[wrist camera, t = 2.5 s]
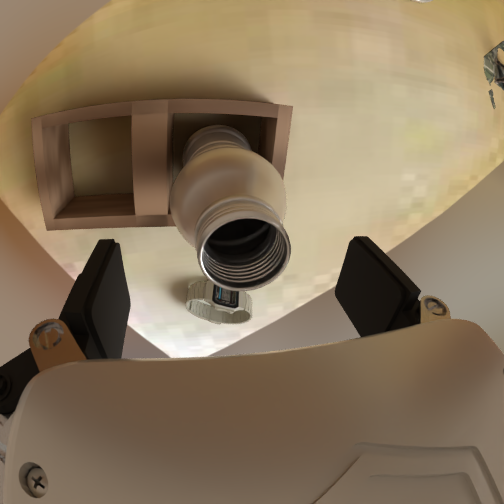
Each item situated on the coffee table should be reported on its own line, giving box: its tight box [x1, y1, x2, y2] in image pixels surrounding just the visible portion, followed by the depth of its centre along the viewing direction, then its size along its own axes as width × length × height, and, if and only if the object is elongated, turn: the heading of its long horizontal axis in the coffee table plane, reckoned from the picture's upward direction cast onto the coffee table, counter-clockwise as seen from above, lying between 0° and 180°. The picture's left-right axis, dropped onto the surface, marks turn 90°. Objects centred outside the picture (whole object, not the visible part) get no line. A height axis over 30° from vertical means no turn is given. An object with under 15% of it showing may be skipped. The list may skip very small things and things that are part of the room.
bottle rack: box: [32, 99, 293, 231], centre depth 24 cm, size 11×23×6 cm, turn 84°
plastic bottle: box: [170, 125, 291, 291], centre depth 19 cm, size 6×7×20 cm
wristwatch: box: [186, 280, 252, 324], centre depth 36 cm, size 9×6×5 cm
